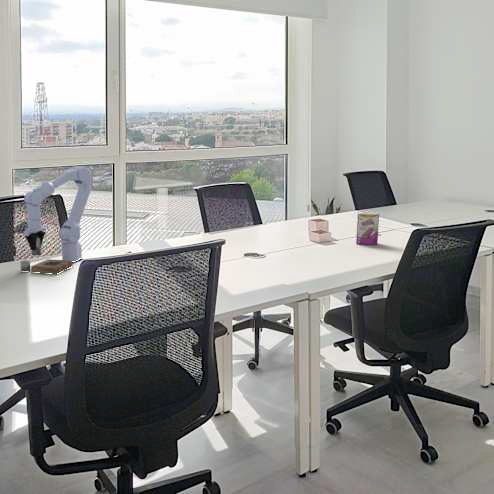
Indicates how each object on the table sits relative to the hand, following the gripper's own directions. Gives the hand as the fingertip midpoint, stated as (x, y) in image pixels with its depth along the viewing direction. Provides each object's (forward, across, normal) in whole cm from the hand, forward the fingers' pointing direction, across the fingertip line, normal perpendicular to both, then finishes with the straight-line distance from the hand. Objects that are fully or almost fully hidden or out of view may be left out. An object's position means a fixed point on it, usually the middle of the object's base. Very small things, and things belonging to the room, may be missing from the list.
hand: (36, 248), depth 303 cm
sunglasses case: (+9, -18, +35) cm, 41 cm away
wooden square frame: (+8, +4, +10) cm, 14 cm away
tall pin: (+2, 0, 0) cm, 2 cm away
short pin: (+8, +9, 0) cm, 12 cm away
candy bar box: (+9, -94, +139) cm, 168 cm away
